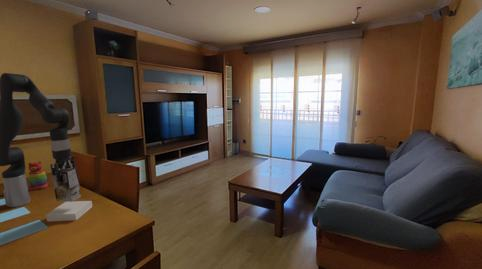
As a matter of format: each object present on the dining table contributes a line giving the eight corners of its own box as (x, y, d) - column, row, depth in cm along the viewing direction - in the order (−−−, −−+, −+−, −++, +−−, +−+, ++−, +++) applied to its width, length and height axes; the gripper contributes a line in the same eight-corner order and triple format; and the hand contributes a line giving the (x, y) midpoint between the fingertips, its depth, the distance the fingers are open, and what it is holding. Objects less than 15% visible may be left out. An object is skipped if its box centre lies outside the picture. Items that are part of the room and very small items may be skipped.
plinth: (47, 222, 113) (45, 214, 112) (66, 208, 126) (65, 201, 126) (76, 221, 114) (75, 213, 113) (92, 207, 127) (91, 200, 127)
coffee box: (81, 196, 121) (77, 167, 118) (71, 202, 115) (67, 171, 112) (66, 195, 122) (61, 167, 119) (55, 201, 116) (50, 171, 113)
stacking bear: (25, 191, 148) (20, 165, 145) (32, 186, 157) (27, 161, 154) (45, 188, 152) (41, 163, 149) (51, 183, 161) (47, 159, 158)
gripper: (63, 145, 121) (67, 174, 123) (41, 152, 106) (47, 185, 109) (78, 145, 121) (82, 174, 124) (58, 151, 107) (63, 184, 110)
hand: (65, 179), depth 117 cm, fingers closed on coffee box, 7 cm apart
